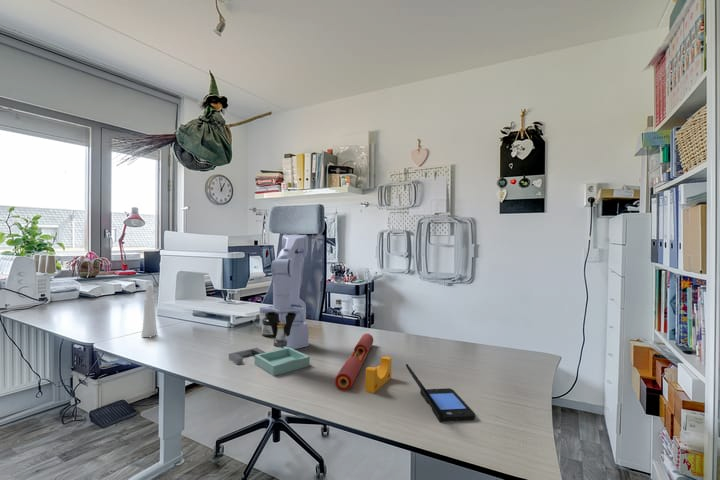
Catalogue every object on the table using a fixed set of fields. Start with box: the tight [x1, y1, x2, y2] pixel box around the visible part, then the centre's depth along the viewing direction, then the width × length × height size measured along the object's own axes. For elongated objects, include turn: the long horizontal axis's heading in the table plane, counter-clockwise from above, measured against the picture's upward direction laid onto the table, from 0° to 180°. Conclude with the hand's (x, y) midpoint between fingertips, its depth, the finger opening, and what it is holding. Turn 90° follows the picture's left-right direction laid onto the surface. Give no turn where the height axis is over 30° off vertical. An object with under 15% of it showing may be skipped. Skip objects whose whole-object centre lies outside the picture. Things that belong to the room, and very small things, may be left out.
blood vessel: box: [334, 333, 374, 391], centre depth 117 cm, size 42×5×5 cm, turn 170°
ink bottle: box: [261, 305, 281, 338], centre depth 151 cm, size 10×9×12 cm
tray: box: [254, 347, 311, 377], centre depth 115 cm, size 13×13×3 cm
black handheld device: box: [405, 363, 476, 423], centre depth 88 cm, size 16×14×9 cm
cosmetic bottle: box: [140, 283, 158, 338], centre depth 148 cm, size 6×6×22 cm
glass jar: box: [273, 323, 287, 348], centre depth 115 cm, size 4×4×7 cm
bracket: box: [228, 347, 266, 365], centre depth 122 cm, size 10×7×2 cm
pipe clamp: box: [364, 355, 392, 394], centre depth 101 cm, size 12×4×6 cm, turn 151°
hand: (281, 335), depth 115 cm, fingers closed on glass jar, 4 cm apart
